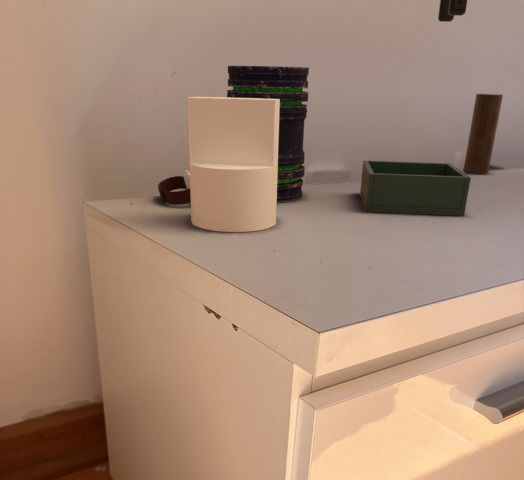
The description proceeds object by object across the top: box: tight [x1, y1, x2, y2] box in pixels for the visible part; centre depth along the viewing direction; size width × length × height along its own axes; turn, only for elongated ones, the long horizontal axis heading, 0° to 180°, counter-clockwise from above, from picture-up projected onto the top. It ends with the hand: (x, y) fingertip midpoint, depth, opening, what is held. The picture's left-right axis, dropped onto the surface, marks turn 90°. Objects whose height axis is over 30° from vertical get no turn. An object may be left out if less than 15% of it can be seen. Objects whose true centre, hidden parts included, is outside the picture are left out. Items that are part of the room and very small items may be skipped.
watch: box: [157, 169, 191, 206], centre depth 68 cm, size 8×5×4 cm, turn 27°
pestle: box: [462, 93, 504, 175], centre depth 93 cm, size 4×4×12 cm
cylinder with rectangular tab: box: [186, 96, 280, 233], centre depth 58 cm, size 9×9×12 cm
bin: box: [359, 159, 472, 217], centre depth 70 cm, size 11×11×4 cm
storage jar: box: [226, 65, 310, 204], centre depth 71 cm, size 10×10×15 cm
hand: (450, 18), depth 82 cm, fingers open, 8 cm apart
